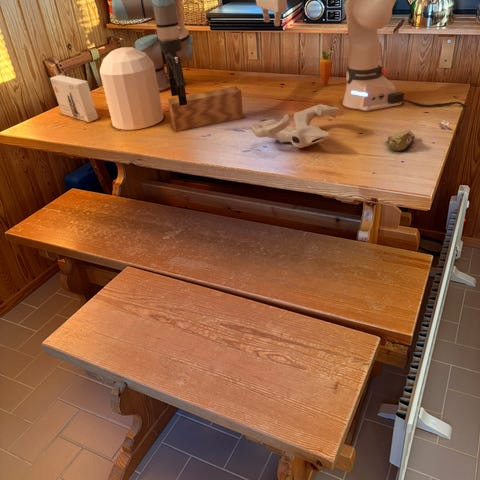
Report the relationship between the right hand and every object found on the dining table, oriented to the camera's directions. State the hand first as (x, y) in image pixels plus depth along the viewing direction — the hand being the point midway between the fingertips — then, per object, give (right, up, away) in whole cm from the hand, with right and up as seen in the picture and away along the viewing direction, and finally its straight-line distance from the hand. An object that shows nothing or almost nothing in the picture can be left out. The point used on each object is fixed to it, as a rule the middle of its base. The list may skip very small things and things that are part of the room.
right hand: (271, 23), depth 164 cm
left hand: (-34, -25, +7) cm, 43 cm away
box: (-24, -31, +16) cm, 42 cm away
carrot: (+27, -9, +41) cm, 49 cm away
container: (-53, -28, +24) cm, 64 cm away
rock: (+40, -47, -17) cm, 64 cm away
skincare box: (-80, -24, +34) cm, 90 cm away
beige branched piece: (+10, -45, -10) cm, 47 cm away
